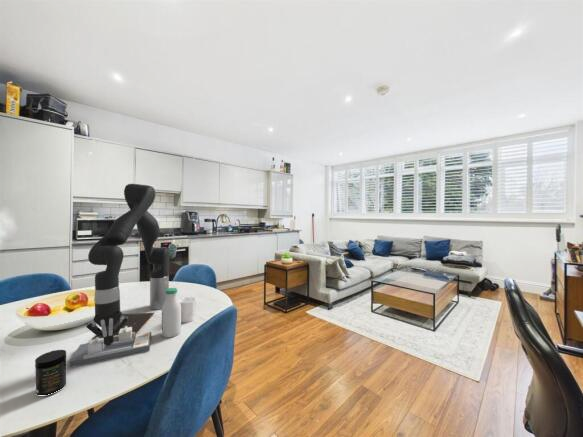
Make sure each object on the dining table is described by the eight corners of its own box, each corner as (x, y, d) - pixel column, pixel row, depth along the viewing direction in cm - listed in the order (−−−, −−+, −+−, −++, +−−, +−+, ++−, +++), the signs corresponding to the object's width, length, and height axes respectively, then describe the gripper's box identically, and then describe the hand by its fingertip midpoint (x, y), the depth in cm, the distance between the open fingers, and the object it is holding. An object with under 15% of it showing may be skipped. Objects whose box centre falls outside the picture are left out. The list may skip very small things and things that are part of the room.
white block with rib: (90, 350, 91) (90, 338, 91) (104, 347, 93) (104, 336, 92) (87, 356, 87) (87, 343, 87) (101, 353, 89) (101, 341, 89)
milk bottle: (184, 331, 111) (185, 287, 110) (171, 339, 104) (171, 292, 103) (171, 328, 113) (171, 285, 113) (157, 336, 106) (157, 290, 105)
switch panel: (80, 349, 95) (80, 341, 95) (151, 336, 106) (151, 329, 106) (68, 367, 84) (68, 359, 84) (149, 351, 95) (149, 343, 95)
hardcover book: (154, 316, 126) (154, 312, 126) (134, 340, 103) (134, 334, 103) (120, 318, 123) (120, 314, 123) (91, 343, 101) (91, 337, 100)
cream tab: (120, 337, 100) (120, 327, 100) (132, 335, 102) (132, 325, 102) (118, 342, 96) (118, 331, 96) (130, 340, 98) (130, 329, 98)
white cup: (189, 324, 118) (189, 303, 117) (175, 322, 119) (175, 302, 119) (198, 317, 125) (199, 297, 125) (185, 315, 127) (185, 296, 127)
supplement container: (71, 386, 76) (70, 353, 75) (41, 401, 70) (41, 365, 69) (60, 379, 79) (60, 347, 78) (31, 393, 72) (30, 358, 72)
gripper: (130, 293, 97) (131, 335, 98) (88, 298, 91) (89, 344, 92) (127, 299, 90) (128, 345, 91) (81, 306, 84) (83, 354, 85)
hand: (108, 344), depth 92 cm, fingers closed
